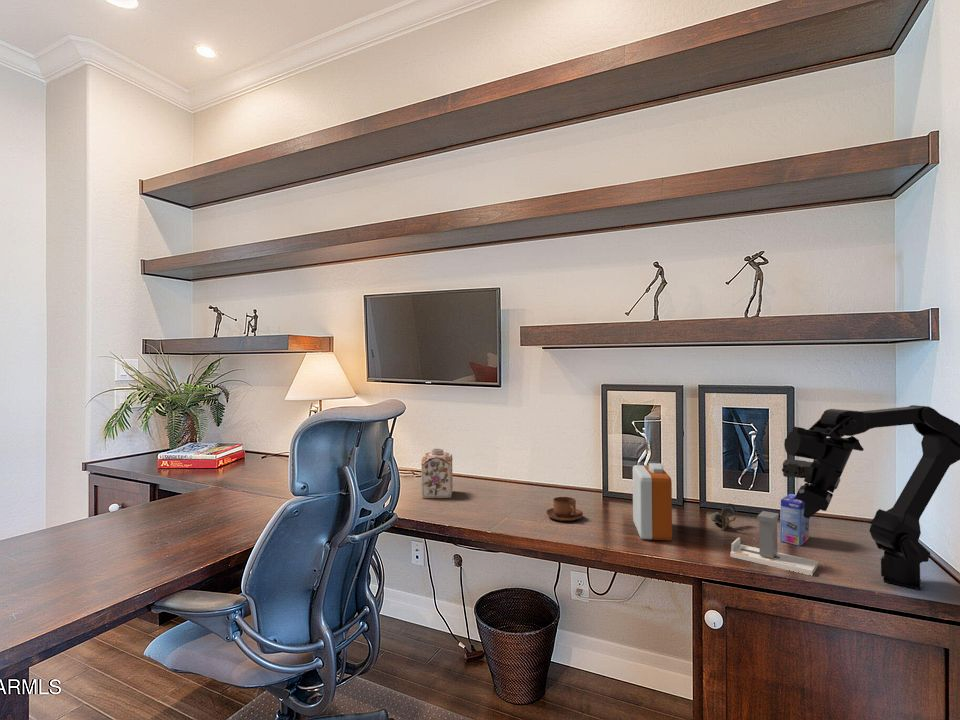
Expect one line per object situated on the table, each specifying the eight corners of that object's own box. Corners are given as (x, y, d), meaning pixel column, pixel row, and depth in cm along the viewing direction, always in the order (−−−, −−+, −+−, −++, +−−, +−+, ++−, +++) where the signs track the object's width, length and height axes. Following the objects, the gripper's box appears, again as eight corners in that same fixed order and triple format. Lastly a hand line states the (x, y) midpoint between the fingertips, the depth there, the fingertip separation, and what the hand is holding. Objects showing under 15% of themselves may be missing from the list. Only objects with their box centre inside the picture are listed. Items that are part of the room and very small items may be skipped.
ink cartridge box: (802, 547, 137) (801, 494, 137) (779, 542, 141) (778, 491, 141) (810, 538, 144) (810, 488, 144) (788, 533, 148) (788, 485, 148)
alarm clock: (672, 542, 141) (672, 470, 141) (640, 540, 142) (640, 469, 142) (661, 522, 159) (660, 458, 159) (632, 521, 160) (632, 457, 161)
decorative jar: (453, 491, 201) (452, 446, 201) (451, 498, 189) (451, 451, 189) (423, 491, 201) (423, 446, 201) (420, 498, 189) (420, 451, 189)
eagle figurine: (745, 529, 148) (741, 515, 157) (729, 508, 149) (727, 494, 157) (719, 540, 151) (717, 525, 160) (704, 519, 152) (703, 505, 161)
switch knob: (779, 553, 128) (778, 513, 128) (774, 559, 124) (773, 518, 124) (763, 549, 131) (763, 510, 131) (758, 555, 126) (757, 515, 127)
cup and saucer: (590, 519, 163) (590, 500, 163) (566, 526, 156) (566, 506, 156) (563, 511, 173) (562, 493, 173) (538, 517, 165) (538, 499, 165)
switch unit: (817, 565, 123) (817, 553, 124) (812, 575, 118) (811, 562, 118) (739, 548, 136) (739, 536, 136) (730, 556, 130) (730, 544, 130)
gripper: (800, 437, 128) (779, 488, 132) (783, 456, 114) (760, 513, 119) (851, 456, 121) (826, 510, 126) (840, 480, 107) (813, 539, 112)
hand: (806, 517), depth 121 cm, fingers closed
